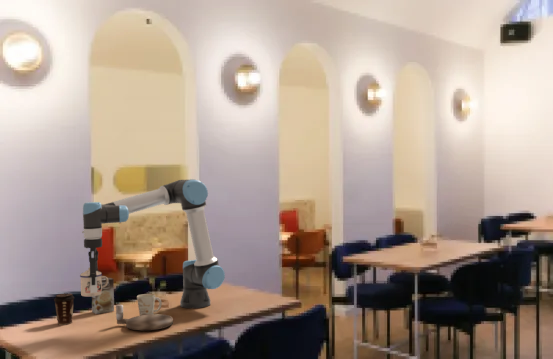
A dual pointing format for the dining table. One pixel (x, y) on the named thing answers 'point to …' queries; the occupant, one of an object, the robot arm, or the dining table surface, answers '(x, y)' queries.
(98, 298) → the coffee box
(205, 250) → the robot arm
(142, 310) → the mug
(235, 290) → the dining table surface
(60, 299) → the coffee cup
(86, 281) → the teacup with lid
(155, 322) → the turntable
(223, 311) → the dining table surface
